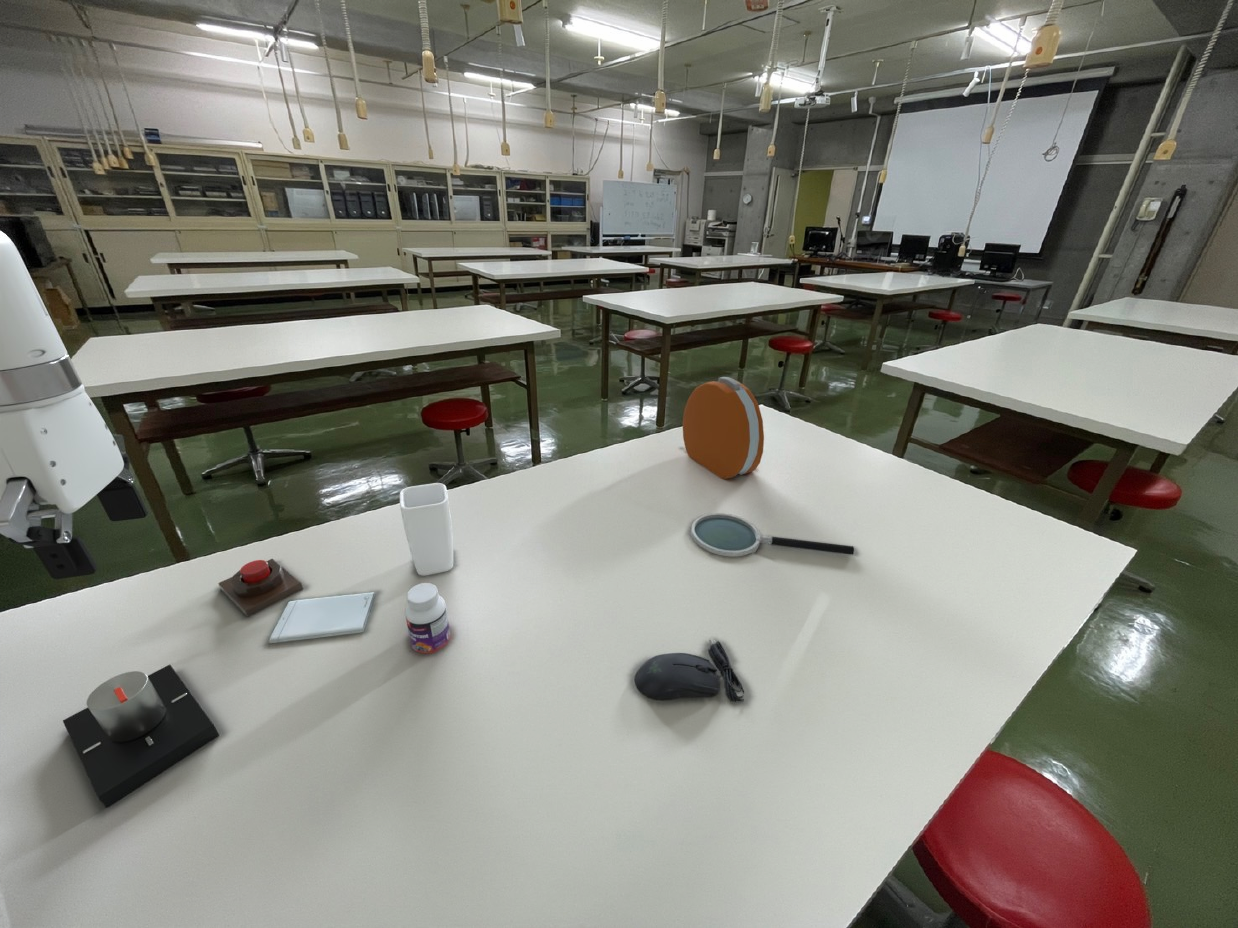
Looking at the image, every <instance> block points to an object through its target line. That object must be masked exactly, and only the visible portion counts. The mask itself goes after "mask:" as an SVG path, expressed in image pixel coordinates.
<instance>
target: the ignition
mask: <svg viewBox="0 0 1238 928" xmlns="http://www.w3.org/2000/svg"><path fill="white" fill-rule="evenodd" d="M265 561H266V562H267V563H268V566H269V569H270V574H269V576H268V577H267V578H265V579H262V580H260V581H258V582H253V583H246V582H244V580H243V578H242V575H241V573H240V569H239V570H238V571H237V572H236V573H234V574H233V575H232V576H231V577H228V578H226V579H224V580H222V581H220V582H218V583H217V584H218V587H219V589H220V590H221V591H222V593H223V594H224V595H225V596H226V597H227V598H228V599H229V600H230V601H231V602H232V603H233V604H234V605H235V606H236V607H237V608H238V609H239V610H240V611H241V612H242V613H243V614H244V615H245V616H246V617H247V618H249V617H251V616H253V615H255V614H258V613H259V612H262V611H263V610H266V609H267V608H269V607H271V606H273V605H275V604H276V603H279V602H281V601H283V600H284V599H287V598H288V597H291V596H292V595H294V594H296V593H298V592H300V591H302V590H304V587H303V584H302V582H301V581H300V580H299V579H298V578H296V577H295V576H294V575H293V574H291V573H290V572H289V571H288V570H287V569H286V568H284V567H283V566H282V565H281V564H280V563H279V562H277V561H276V560H275V559H274V558H270V559H268V560H265Z"/></svg>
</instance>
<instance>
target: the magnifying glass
mask: <svg viewBox="0 0 1238 928" xmlns="http://www.w3.org/2000/svg"><path fill="white" fill-rule="evenodd" d="M690 529H691V530H690V534H691V537H692V540H693V541H694V542H695V543H696V545H698V546H699V547H700V548H702V549H704V550H705V551H707V552H710V553H711V554H715V555H718V556H723V557H733V558H734V557H742V556H747V555H749V554H755V553H756V552H757V551H758V549H759V548H760V544H767V545H772V546H780V547H788V548H796V549H803V550H804V549H805V550H813V551H821V552H827V553H837V554H844V555H845V554H846V555H851V556H852V555H854V553H855V547H854V545H853V546H852V545H844V544H837V543H827V542H819V541H812V540H803V539H796V538H787V537H780V536H779V537H778V536H766V535H765V536H764V535H761V532H760V530H759V529H758V528H757V527H756V526H755V525H754V524H753V523H751V521H749V520H747V519H745V518H743V517H741V516H738V515H734V514H730V513H725V512H724V513H723V512H712V513H706V514H702V515H701V516H699V517H697V518H696V519H695V520H693V522H692V524H691V528H690Z"/></svg>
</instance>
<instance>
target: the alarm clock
mask: <svg viewBox="0 0 1238 928" xmlns="http://www.w3.org/2000/svg"><path fill="white" fill-rule="evenodd" d="M717 380H718V381H714V380H713V381H707V382H705V383H703V384H700V385H698V386H696V387H695V388H694V390H693V391H692V392H691V394H690V395H689V397H688V398H687V401H686V405H685V407H684V411H683V418H682V439H683V443H684V448H685V451H686V454H687V455H688V457H689V458H690V459H692V460H693V461H694V462H696V463H697V464H699V465H701V466H702V467H703V468H705V469H706V470H708V471H709V472H711V473H713V474H714V475H715V476H717V477H718V478H720V479H722V480H728V479H731V478H734V477H737V476H738V475H740V476H742V475H745V474H749V473H752V472H753V471H756V470H757V468H758V466H759V465H760V464H761V461H762V457H763V453H764V443H765V433H764V420H763V416H762V412H761V409H760V405H759V402H758V401H757V399H756V398H755V396H754V394H753V393H752V391H751V389H750V388H748V387H747V386H746V385H744V384H743V383H741V382H740V381H738V380H736V379H734V378H732V377H729V376H722V377H718V379H717Z"/></svg>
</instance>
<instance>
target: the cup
mask: <svg viewBox="0 0 1238 928" xmlns="http://www.w3.org/2000/svg"><path fill="white" fill-rule="evenodd" d="M448 495H449V494H448V490H447V486H446V485H445V484H444V483H440V482H433V483H427V484H420V485H413V486H407V487H405V488H403V489H402V490H400V492H399V508H400V509H399V510H400V513H401V518H402V519H401V520H402V523H403V528H404V532H405V533H404V534H405V537H406V541H407V545H408V549H409V552H410V555H411V558H412V562H413V564H414V567H415V570H416V572H417V574H418V575H419V576H429V575H430V576H431V575H436V574H441V573H445V572H448V571H450V570H451V569H453V567H454V537H453V524H452V517H451V515H452V514H451V509H450V502H449V496H448Z"/></svg>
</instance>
